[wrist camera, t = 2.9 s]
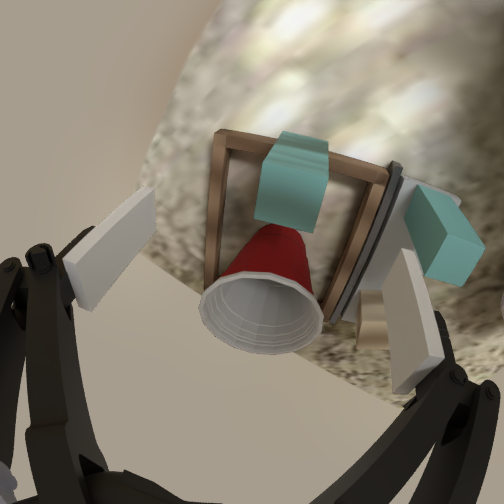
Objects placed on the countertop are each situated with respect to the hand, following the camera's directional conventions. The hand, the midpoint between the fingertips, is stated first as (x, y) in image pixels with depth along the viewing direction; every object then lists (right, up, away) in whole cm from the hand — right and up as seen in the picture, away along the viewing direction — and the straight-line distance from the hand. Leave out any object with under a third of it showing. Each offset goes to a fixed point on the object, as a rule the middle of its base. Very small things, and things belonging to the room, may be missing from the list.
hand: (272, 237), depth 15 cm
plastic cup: (+2, 0, +19) cm, 19 cm away
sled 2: (+16, -2, +17) cm, 23 cm away
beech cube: (+14, -7, +19) cm, 25 cm away
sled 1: (+3, +2, +17) cm, 18 cm away
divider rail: (+11, -1, +17) cm, 21 cm away
